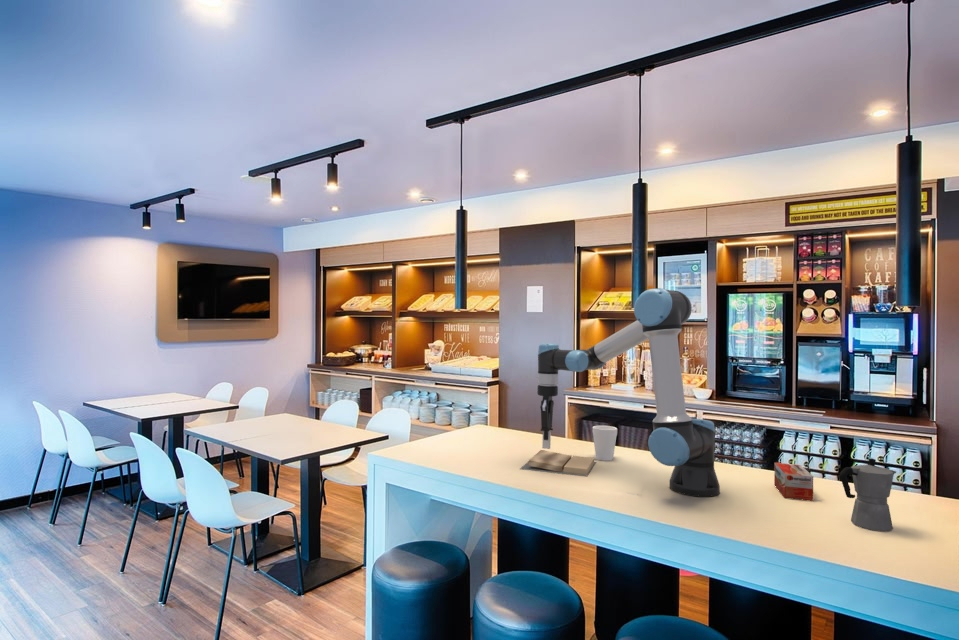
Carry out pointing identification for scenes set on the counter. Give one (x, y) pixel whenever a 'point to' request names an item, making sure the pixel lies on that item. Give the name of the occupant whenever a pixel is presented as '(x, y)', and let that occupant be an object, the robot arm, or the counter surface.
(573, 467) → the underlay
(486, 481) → the counter surface
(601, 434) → the foam cup
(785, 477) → the medicine box
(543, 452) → the plank
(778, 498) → the counter surface
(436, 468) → the counter surface
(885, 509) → the coffeepot
